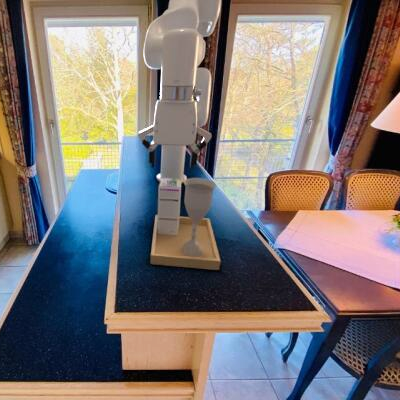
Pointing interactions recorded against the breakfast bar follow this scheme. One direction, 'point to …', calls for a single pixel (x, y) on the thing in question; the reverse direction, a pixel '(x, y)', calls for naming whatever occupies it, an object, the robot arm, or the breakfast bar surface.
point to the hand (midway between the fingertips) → (172, 166)
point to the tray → (172, 245)
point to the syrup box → (169, 206)
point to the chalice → (196, 209)
